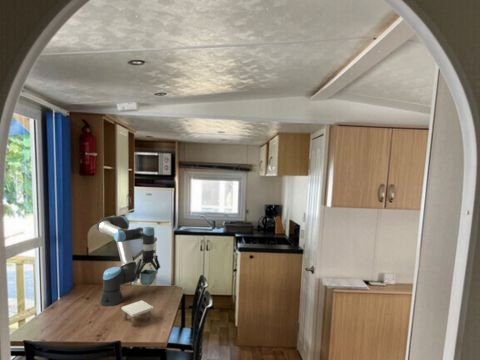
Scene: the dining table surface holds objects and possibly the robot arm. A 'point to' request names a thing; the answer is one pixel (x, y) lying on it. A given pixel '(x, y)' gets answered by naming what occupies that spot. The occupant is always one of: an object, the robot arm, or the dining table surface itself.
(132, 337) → the dining table surface
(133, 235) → the robot arm
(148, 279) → the flower pot
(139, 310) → the footstool
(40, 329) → the dining table surface
